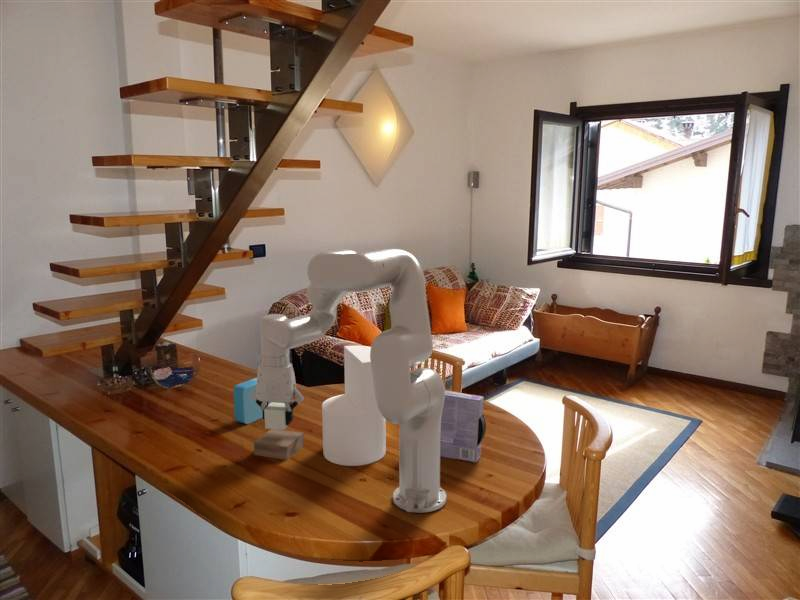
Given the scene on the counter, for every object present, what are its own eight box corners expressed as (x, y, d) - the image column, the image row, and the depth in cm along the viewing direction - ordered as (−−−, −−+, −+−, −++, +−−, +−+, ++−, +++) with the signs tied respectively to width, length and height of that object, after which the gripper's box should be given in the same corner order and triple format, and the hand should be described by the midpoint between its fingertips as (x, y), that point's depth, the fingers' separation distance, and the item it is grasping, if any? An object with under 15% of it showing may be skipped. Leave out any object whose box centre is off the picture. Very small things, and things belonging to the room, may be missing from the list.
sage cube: (284, 429, 165) (283, 410, 164) (265, 428, 166) (264, 409, 165) (291, 421, 170) (290, 403, 169) (272, 420, 171) (271, 402, 170)
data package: (263, 410, 198) (261, 375, 196) (273, 413, 196) (271, 378, 194) (234, 422, 189) (232, 385, 186) (244, 425, 186) (242, 388, 184)
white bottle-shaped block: (374, 434, 179) (373, 343, 174) (394, 459, 163) (394, 359, 158) (316, 443, 173) (313, 349, 168) (332, 470, 157) (329, 366, 152)
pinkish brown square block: (287, 460, 163) (286, 447, 163) (254, 456, 166) (253, 442, 165) (304, 445, 173) (303, 432, 172) (272, 441, 176) (272, 428, 175)
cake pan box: (485, 456, 165) (487, 394, 161) (480, 464, 160) (482, 400, 157) (419, 445, 172) (419, 385, 169) (413, 452, 167) (413, 391, 164)
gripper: (240, 362, 162) (243, 426, 166) (301, 365, 159) (303, 430, 163) (251, 354, 169) (253, 415, 173) (310, 357, 167) (312, 419, 170)
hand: (278, 422), depth 168 cm, fingers closed on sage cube, 5 cm apart
